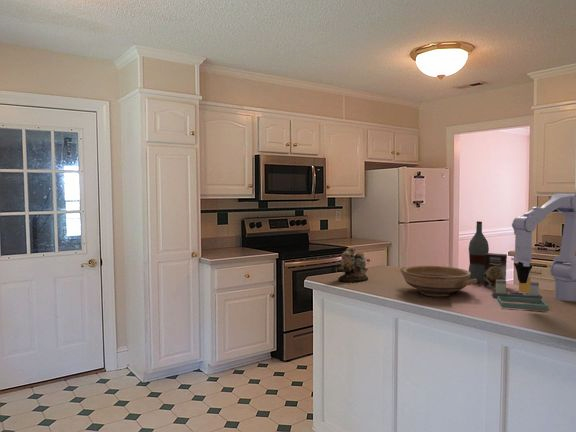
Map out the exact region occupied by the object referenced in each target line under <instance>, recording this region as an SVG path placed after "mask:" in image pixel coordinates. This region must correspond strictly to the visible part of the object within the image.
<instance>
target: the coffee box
mask: <svg viewBox="0 0 576 432" xmlns="http://www.w3.org/2000/svg"><path fill="white" fill-rule="evenodd" d="M507 262H508V254H506V253H505V254H504V253H493V252H492V253H491V252H488V253H486V254H485V271H484V284H483V287H484V288H493V289H496V280H506V281H507Z"/></svg>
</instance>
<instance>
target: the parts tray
mask: <svg viewBox="0 0 576 432" xmlns="http://www.w3.org/2000/svg"><path fill="white" fill-rule="evenodd" d="M496 300H497V301H498V303H499V306H500V307H501V308H500V310H504V308H507V310H508V311H509V310H511V311H518V309H523V310H524V311H525V312H533V310H536V312H538V313H539V312H541V313H547V311H545V310H549V304H547V303H546V301H544V300H543V298H542V299H534V298H518V297H502V296H497V299H496ZM518 302H519V303H518ZM520 302H521V303H520ZM530 303H531V304H530ZM533 303H534V304H533ZM515 308H517V309H515ZM530 309H533V310H530Z"/></svg>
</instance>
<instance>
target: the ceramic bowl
mask: <svg viewBox="0 0 576 432" xmlns="http://www.w3.org/2000/svg"><path fill="white" fill-rule="evenodd" d="M399 271H400V274H401V275H402V276H403V278H404V281H405V282H406V284H407V285H409V286H410V287H412V288H413V289H414V288H415V289H416V290H418V291H419V292H420V294H422V295H424V296H429V297H430V296H431V297H449V296H451V293H454V292H457V291H460V290H464V289H465V288H466V287H467V286H471V285H472V286H473V285H474V284H476V283H477V279H471V280H470V275H471V273H470V272H469V270H466V269H464V268H458V267H453V266H445V265H444V266H443V265H414V266H408V267H407V266H406V267H403V266H402V267H401V268H400V269H399Z"/></svg>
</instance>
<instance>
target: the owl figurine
mask: <svg viewBox="0 0 576 432" xmlns="http://www.w3.org/2000/svg"><path fill="white" fill-rule="evenodd" d="M355 252H356V248H355V247H354V246H348V247H347V248H346V249H345V251H343V252H342V254H341V255H340V256H341V259H340V266H339V267H338V268H337V269H338V270H339V272H340V273H344V274H343V275H340V276H339V277H337V278H338V279H337V280H338V281H340V282H343V283H349V284H350V283H362V282H363V283H364V282H366V281H368V280H369V277H368V276H367V274H366V273H367V271H368V270H369V269H368V268H367V267H366V266H367V263H366V257H365V254H364V253H363V252H361V251H359V252H356V253H355Z"/></svg>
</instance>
